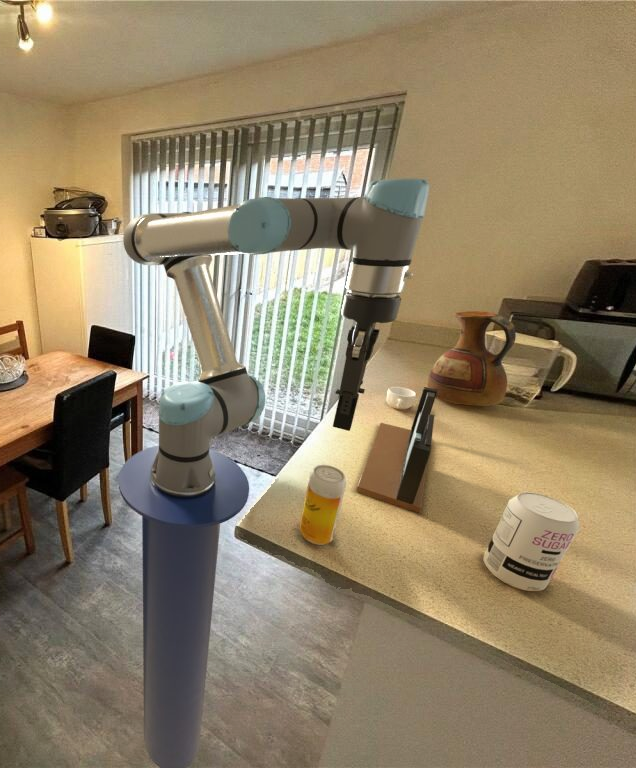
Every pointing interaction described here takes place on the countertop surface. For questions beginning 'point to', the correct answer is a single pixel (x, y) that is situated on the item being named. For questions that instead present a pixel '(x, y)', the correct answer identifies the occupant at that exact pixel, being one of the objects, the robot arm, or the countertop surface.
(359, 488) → the brown base with upright
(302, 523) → the yellow drink can
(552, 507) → the supplement can
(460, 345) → the ceramic pitcher
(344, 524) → the countertop surface
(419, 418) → the black slab
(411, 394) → the teacup
